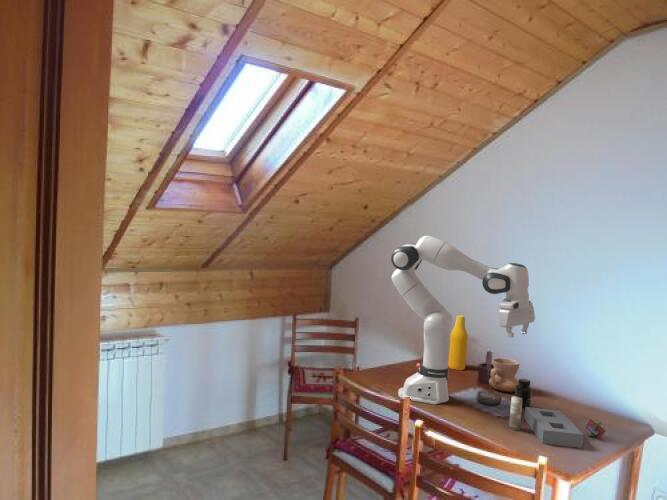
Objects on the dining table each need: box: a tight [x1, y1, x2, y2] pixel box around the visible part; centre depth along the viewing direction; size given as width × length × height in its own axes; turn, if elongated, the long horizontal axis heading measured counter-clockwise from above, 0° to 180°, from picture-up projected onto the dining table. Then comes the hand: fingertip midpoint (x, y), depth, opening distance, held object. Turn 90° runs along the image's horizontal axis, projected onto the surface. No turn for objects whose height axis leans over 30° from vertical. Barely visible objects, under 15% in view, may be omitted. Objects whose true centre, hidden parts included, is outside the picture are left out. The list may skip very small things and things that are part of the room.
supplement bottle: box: [514, 378, 533, 410], centre depth 222 cm, size 7×7×12 cm
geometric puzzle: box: [585, 418, 606, 441], centre depth 193 cm, size 7×7×8 cm
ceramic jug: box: [488, 357, 521, 393], centre depth 245 cm, size 18×14×14 cm
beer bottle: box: [448, 314, 468, 371], centre depth 278 cm, size 9×9×29 cm
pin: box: [508, 395, 523, 431], centre depth 196 cm, size 4×4×12 cm
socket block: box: [524, 406, 585, 449], centre depth 195 cm, size 14×24×5 cm, turn 174°
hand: (517, 335), depth 209 cm, fingers open, 8 cm apart
